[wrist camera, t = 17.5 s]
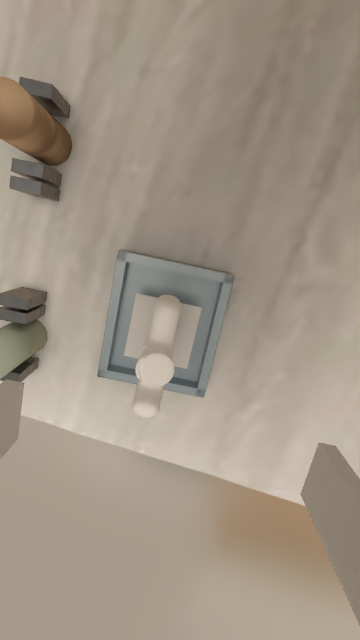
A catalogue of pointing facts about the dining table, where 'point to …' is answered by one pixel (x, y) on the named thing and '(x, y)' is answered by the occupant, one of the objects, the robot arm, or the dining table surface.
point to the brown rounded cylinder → (31, 125)
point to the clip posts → (25, 301)
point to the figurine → (159, 346)
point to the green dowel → (19, 343)
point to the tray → (155, 281)
